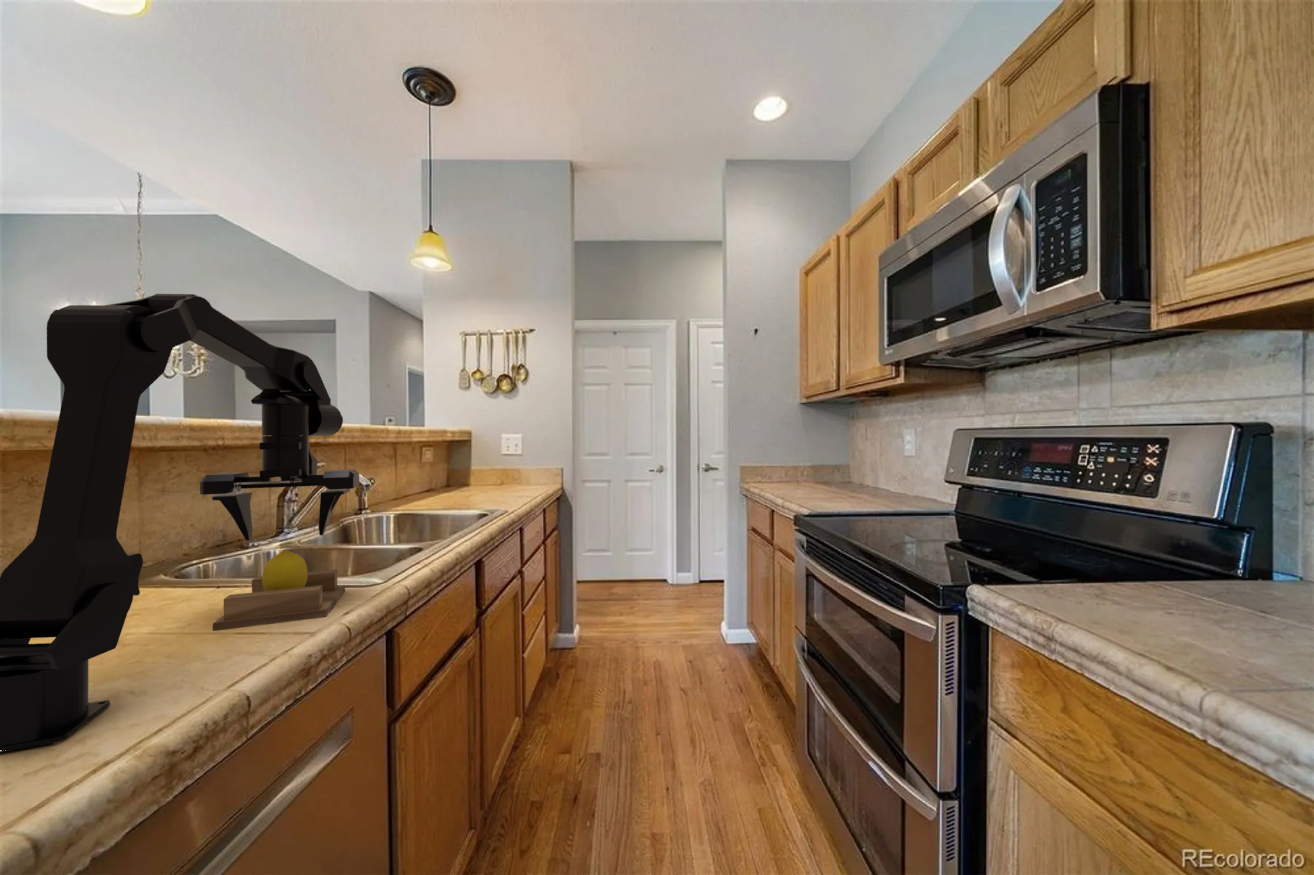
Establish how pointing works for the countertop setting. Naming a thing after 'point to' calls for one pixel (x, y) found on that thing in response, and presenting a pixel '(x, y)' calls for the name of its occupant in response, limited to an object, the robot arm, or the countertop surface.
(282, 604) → the cradle
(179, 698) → the countertop surface
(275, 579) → the lemon
